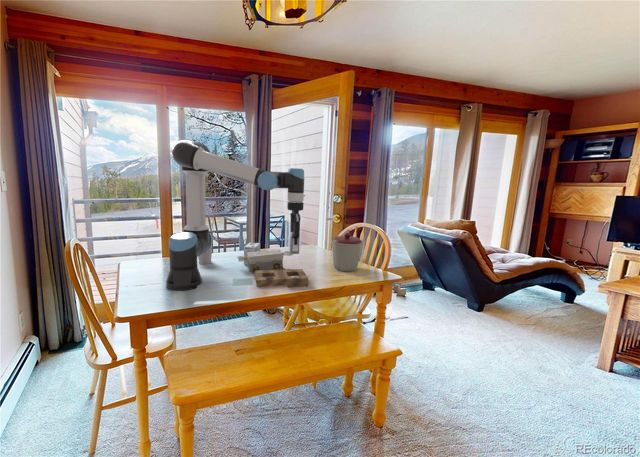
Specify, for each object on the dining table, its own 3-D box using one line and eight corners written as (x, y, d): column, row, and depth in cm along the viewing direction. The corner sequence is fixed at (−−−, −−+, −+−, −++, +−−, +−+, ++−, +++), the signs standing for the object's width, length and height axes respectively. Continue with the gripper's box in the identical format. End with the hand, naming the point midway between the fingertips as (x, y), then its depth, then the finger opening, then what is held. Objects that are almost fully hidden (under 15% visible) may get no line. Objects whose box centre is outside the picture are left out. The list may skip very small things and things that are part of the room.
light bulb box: (249, 259, 193) (249, 242, 191) (260, 260, 193) (260, 242, 191) (243, 265, 183) (243, 246, 181) (255, 265, 182) (255, 247, 180)
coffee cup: (217, 262, 185) (217, 236, 183) (203, 265, 178) (202, 239, 175) (206, 259, 190) (206, 234, 188) (192, 262, 182) (191, 236, 180)
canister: (325, 271, 178) (327, 233, 174) (333, 262, 195) (335, 228, 192) (358, 275, 174) (361, 237, 170) (363, 266, 191) (365, 231, 187)
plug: (290, 254, 155) (291, 233, 153) (289, 251, 159) (289, 231, 157) (299, 253, 156) (299, 233, 154) (297, 251, 160) (298, 231, 158)
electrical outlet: (294, 270, 175) (293, 252, 173) (240, 277, 166) (238, 258, 164) (288, 264, 186) (288, 247, 184) (237, 270, 177) (236, 252, 175)
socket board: (256, 288, 149) (256, 279, 148) (254, 278, 162) (254, 270, 161) (307, 286, 155) (308, 277, 154) (302, 276, 168) (302, 268, 167)
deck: (232, 287, 148) (232, 285, 148) (232, 280, 157) (232, 278, 157) (252, 286, 151) (252, 284, 151) (251, 280, 159) (252, 278, 159)
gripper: (307, 203, 146) (305, 254, 150) (299, 199, 162) (298, 245, 166) (290, 203, 144) (289, 254, 148) (284, 199, 160) (284, 245, 164)
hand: (294, 249), depth 157 cm, fingers closed on plug, 4 cm apart
